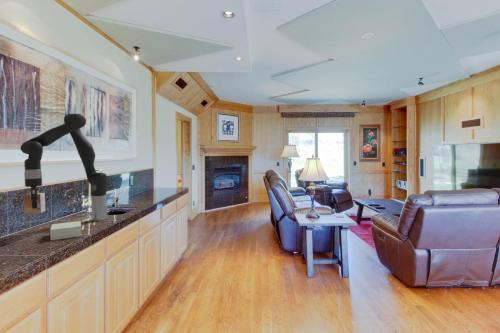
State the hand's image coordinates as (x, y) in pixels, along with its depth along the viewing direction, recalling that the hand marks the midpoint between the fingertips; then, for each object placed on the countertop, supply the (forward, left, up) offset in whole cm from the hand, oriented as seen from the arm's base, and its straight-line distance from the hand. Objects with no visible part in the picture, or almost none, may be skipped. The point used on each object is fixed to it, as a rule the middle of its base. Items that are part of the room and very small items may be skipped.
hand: (34, 207), depth 152 cm
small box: (0, 0, -3) cm, 3 cm away
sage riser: (-14, +7, -17) cm, 23 cm away
